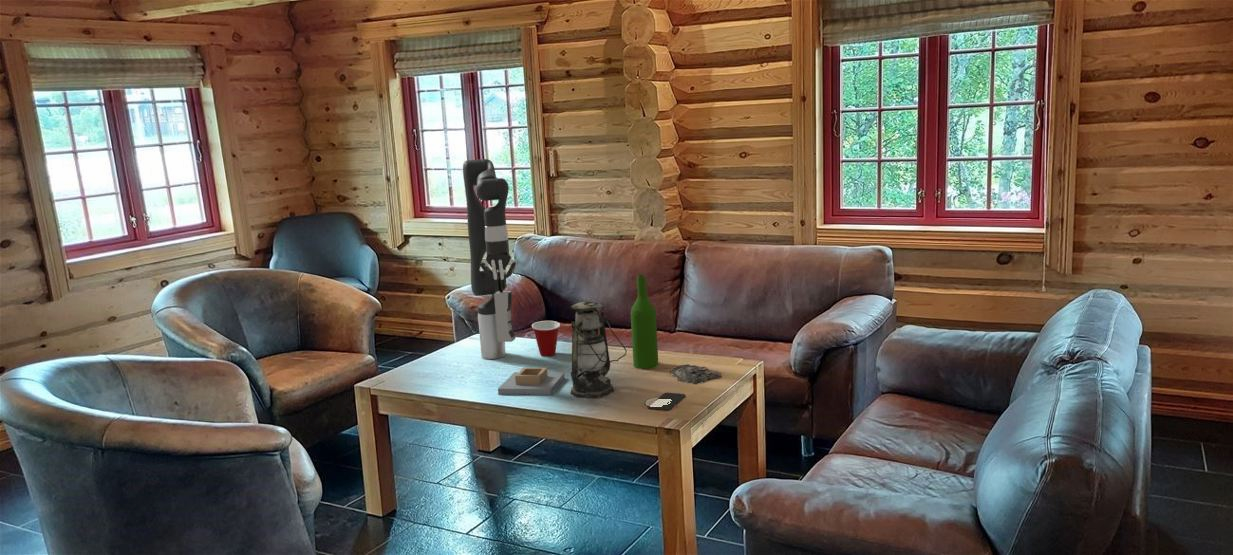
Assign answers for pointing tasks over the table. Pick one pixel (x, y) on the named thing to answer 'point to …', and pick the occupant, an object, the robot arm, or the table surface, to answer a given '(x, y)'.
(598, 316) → the lantern
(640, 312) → the wine bottle
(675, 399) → the phone
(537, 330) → the plastic cup
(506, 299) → the vintage mobile phone
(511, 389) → the square socket base
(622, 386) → the table surface
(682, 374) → the geode
